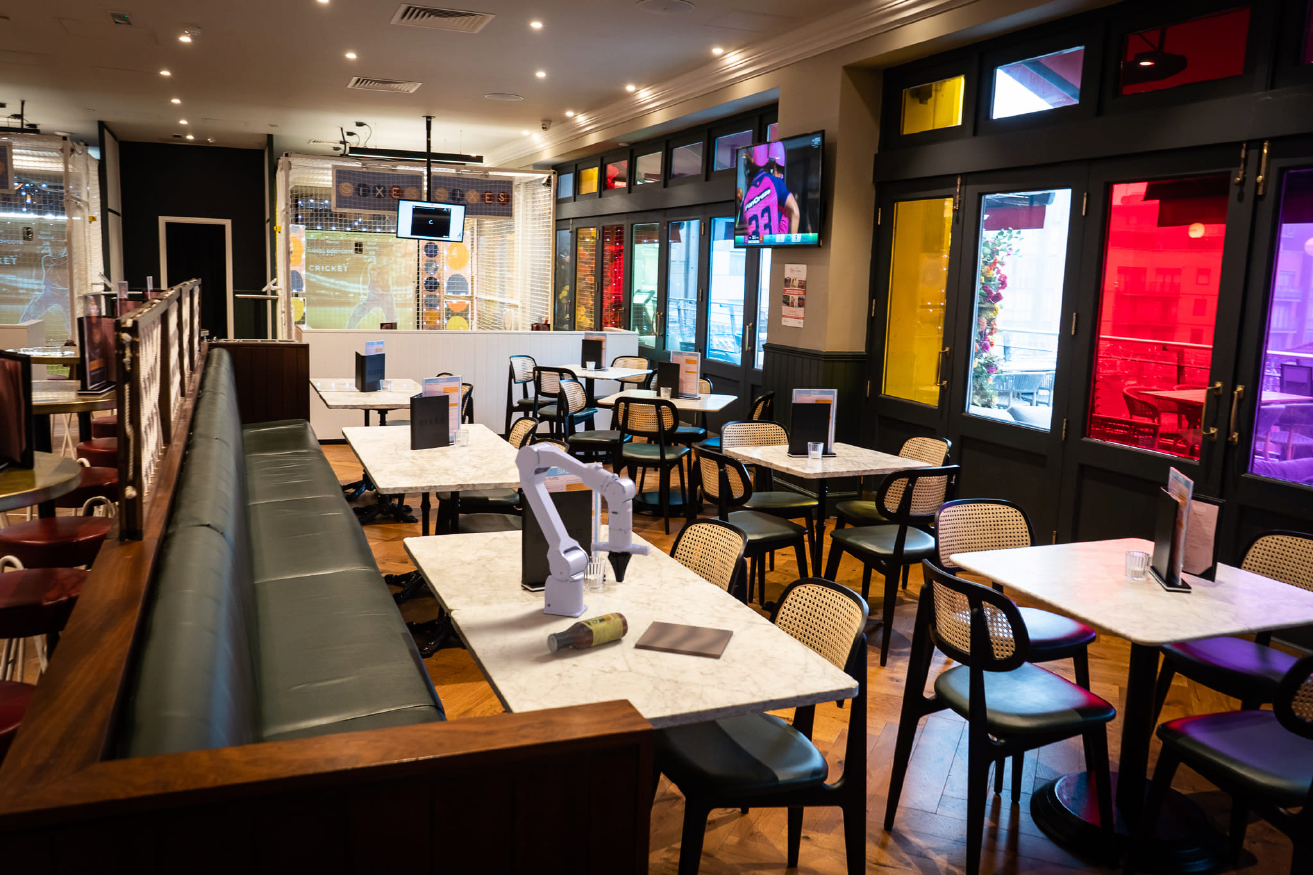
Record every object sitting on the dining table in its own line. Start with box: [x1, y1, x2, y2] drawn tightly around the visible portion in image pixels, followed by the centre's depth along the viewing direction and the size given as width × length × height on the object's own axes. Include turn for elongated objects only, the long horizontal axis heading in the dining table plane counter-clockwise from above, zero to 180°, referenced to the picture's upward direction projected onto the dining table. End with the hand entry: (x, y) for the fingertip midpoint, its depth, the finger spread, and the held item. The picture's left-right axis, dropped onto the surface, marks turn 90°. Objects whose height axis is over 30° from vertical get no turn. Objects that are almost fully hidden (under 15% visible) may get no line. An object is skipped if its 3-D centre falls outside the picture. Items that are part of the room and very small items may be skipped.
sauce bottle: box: [546, 612, 629, 653], centre depth 216 cm, size 7×6×20 cm
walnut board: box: [634, 620, 734, 659], centre depth 221 cm, size 20×16×1 cm
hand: (619, 581), depth 231 cm, fingers closed
